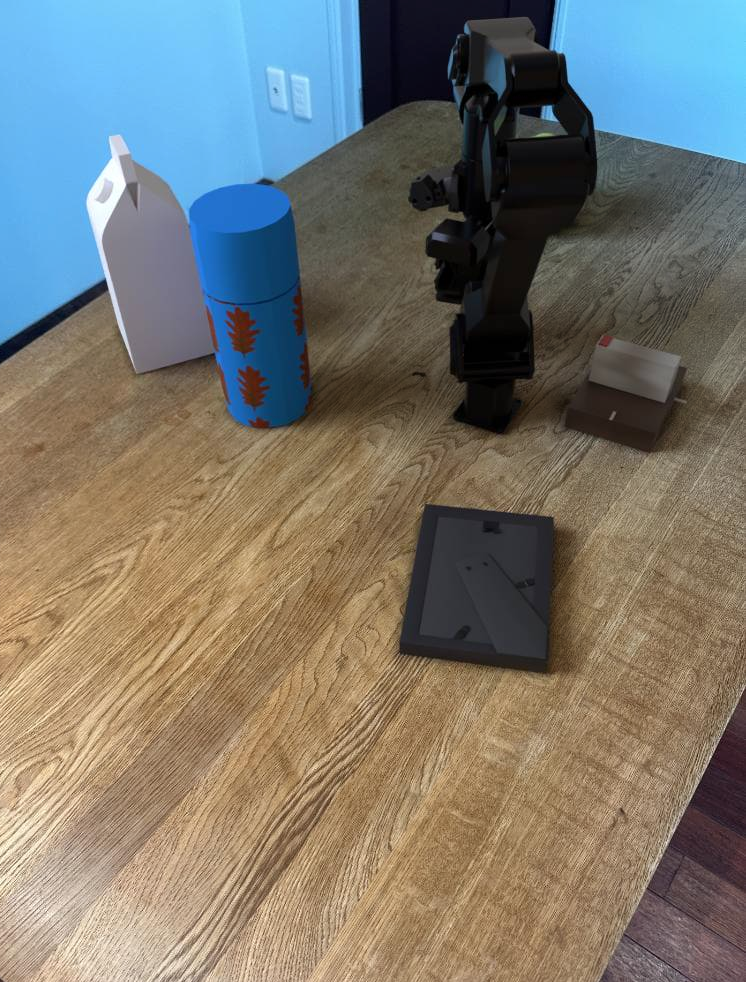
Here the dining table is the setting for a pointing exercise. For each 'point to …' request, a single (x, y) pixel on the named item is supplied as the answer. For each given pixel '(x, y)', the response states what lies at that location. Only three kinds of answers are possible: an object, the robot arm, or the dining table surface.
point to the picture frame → (481, 588)
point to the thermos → (253, 301)
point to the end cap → (452, 281)
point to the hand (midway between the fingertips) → (478, 280)
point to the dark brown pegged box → (620, 413)
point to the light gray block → (634, 368)
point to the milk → (148, 264)
